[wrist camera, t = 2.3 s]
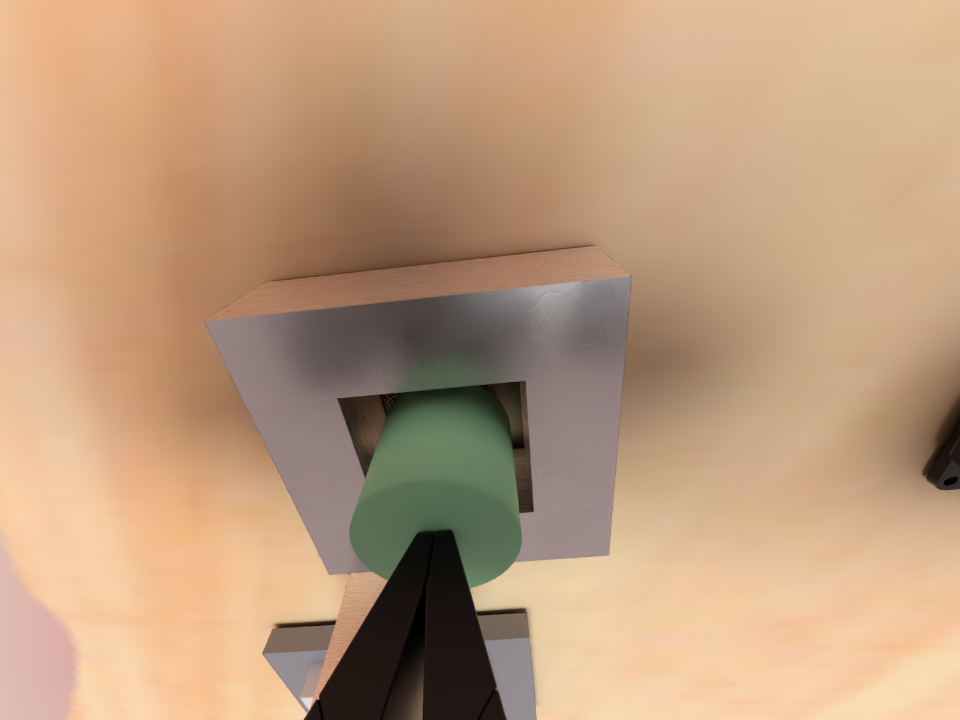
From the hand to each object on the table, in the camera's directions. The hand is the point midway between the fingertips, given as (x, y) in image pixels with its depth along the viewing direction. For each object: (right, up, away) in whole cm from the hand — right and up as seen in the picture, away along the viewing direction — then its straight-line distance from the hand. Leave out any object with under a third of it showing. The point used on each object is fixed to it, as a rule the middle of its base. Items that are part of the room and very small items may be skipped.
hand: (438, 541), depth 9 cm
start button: (0, +2, +3) cm, 4 cm away
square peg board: (0, +3, +5) cm, 6 cm away
